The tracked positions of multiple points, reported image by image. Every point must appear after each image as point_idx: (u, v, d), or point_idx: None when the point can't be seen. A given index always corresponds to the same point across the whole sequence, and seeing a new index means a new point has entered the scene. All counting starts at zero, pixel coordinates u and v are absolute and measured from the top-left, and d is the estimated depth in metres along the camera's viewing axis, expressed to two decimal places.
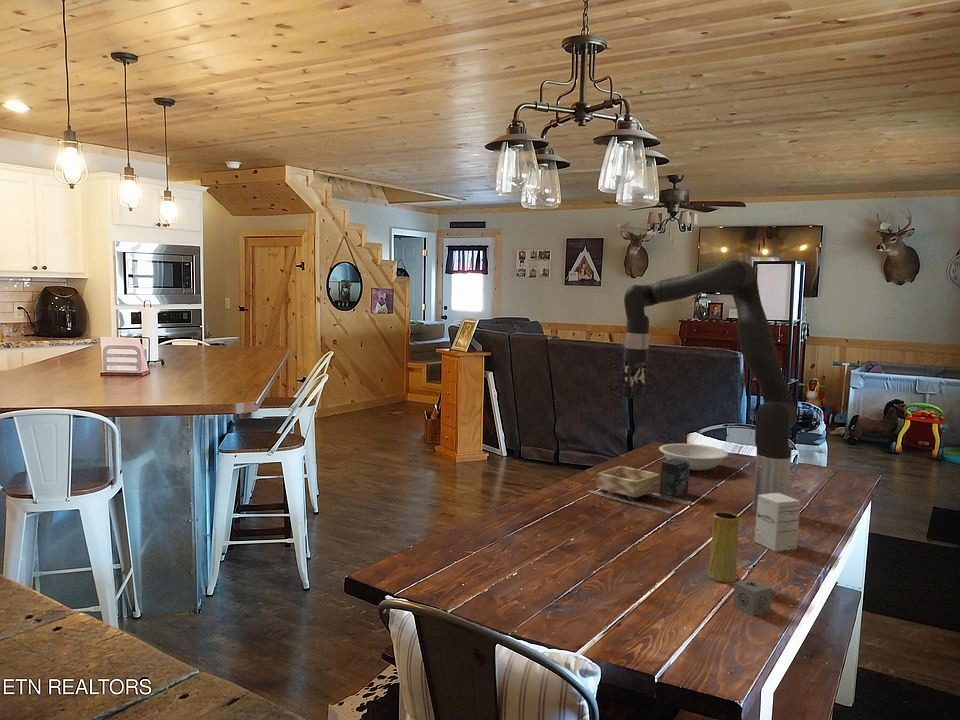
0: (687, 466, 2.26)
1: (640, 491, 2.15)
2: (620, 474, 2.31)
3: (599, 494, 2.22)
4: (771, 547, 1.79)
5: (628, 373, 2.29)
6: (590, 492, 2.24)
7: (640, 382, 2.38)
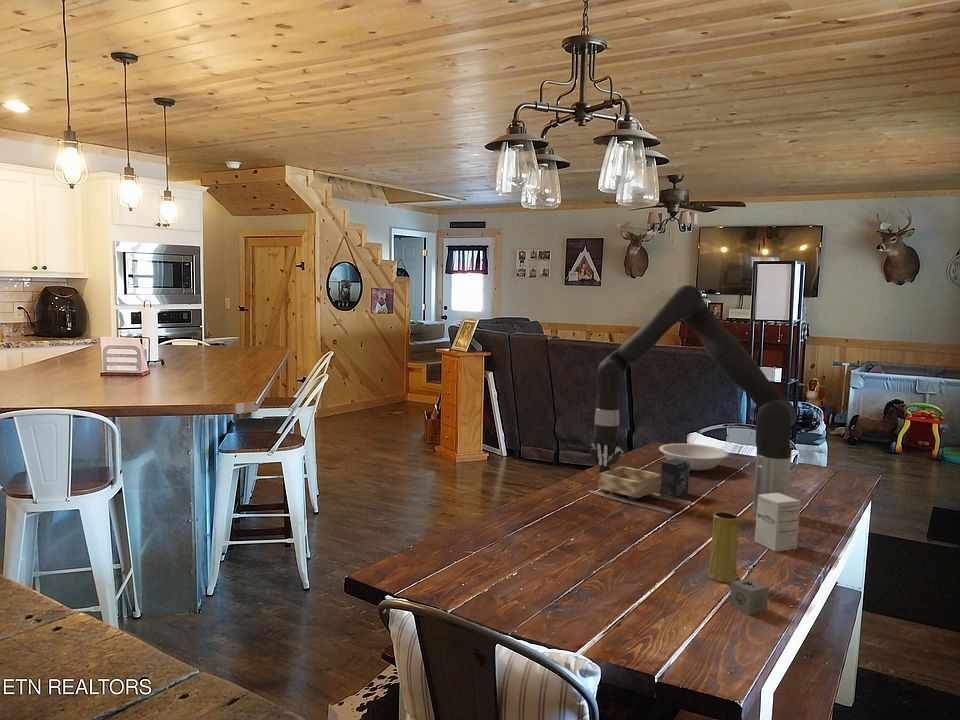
0: (687, 466, 2.26)
1: (642, 492, 2.15)
2: (622, 474, 2.31)
3: (599, 494, 2.22)
4: (771, 547, 1.79)
5: (620, 456, 2.25)
6: (590, 492, 2.24)
7: None
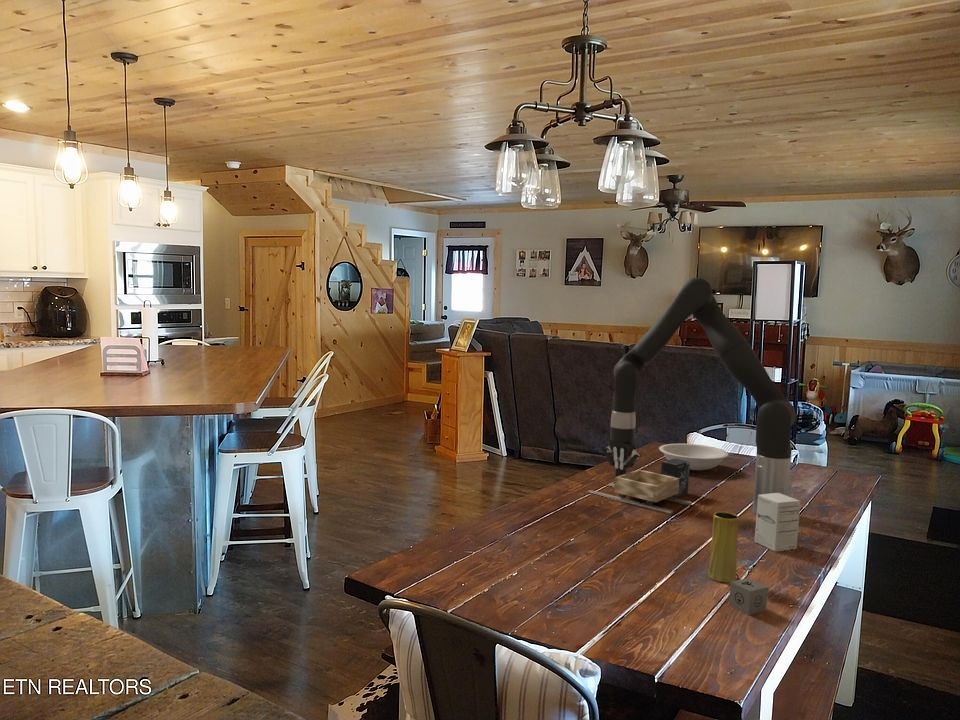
0: (687, 466, 2.26)
1: (660, 496, 2.11)
2: (638, 478, 2.27)
3: (599, 494, 2.22)
4: (771, 547, 1.79)
5: (637, 460, 2.21)
6: (590, 492, 2.24)
7: None
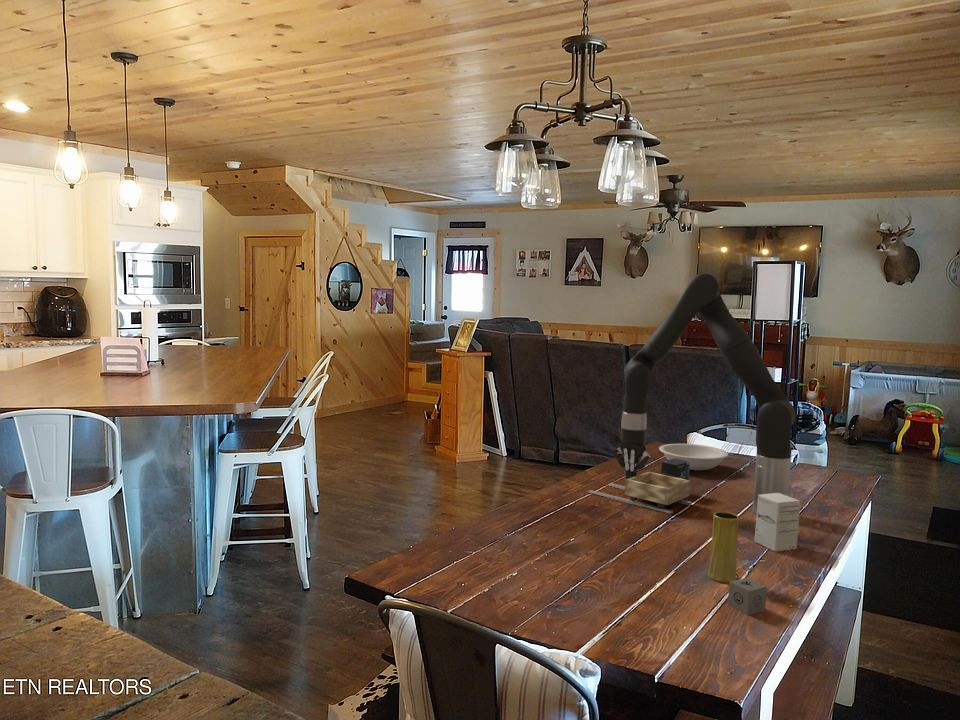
0: (687, 466, 2.26)
1: (672, 499, 2.08)
2: (648, 480, 2.24)
3: (599, 494, 2.22)
4: (771, 547, 1.79)
5: (647, 461, 2.19)
6: (590, 492, 2.24)
7: None
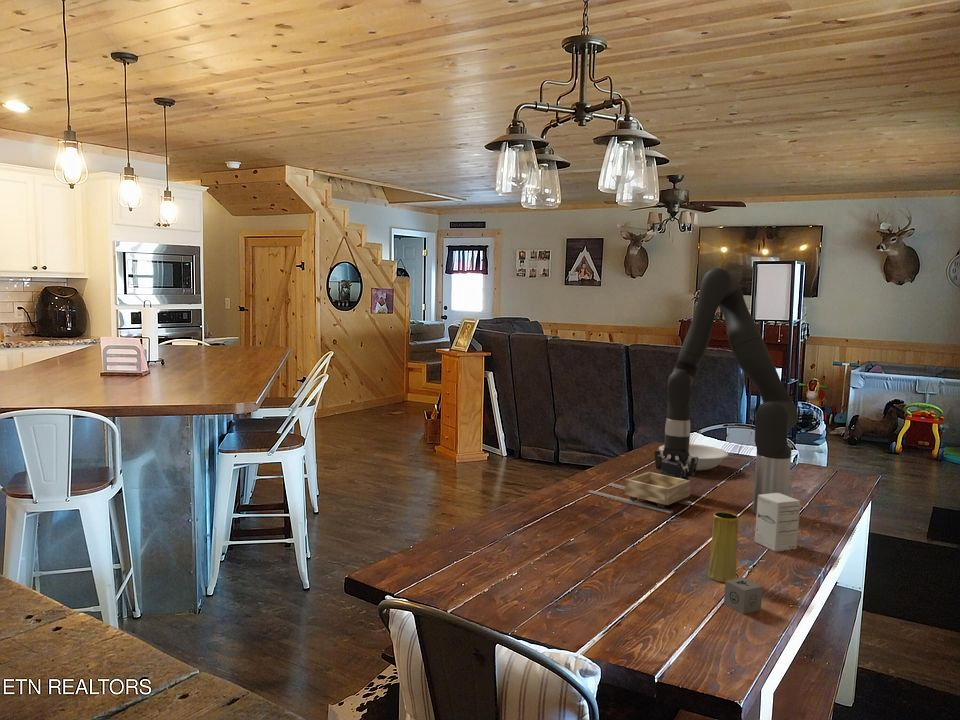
0: None
1: (672, 499, 2.08)
2: (648, 480, 2.24)
3: (599, 494, 2.22)
4: (771, 547, 1.79)
5: (696, 464, 2.22)
6: (590, 492, 2.24)
7: None
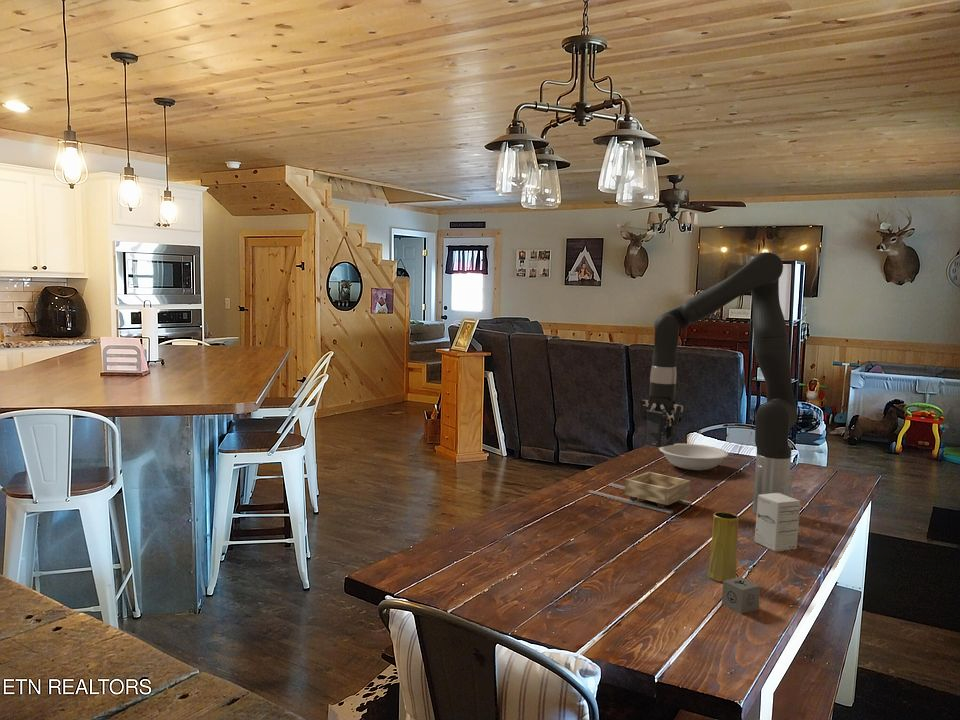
0: None
1: (672, 499, 2.08)
2: (648, 480, 2.24)
3: (599, 494, 2.22)
4: (771, 547, 1.79)
5: (682, 413, 2.13)
6: (590, 492, 2.24)
7: None
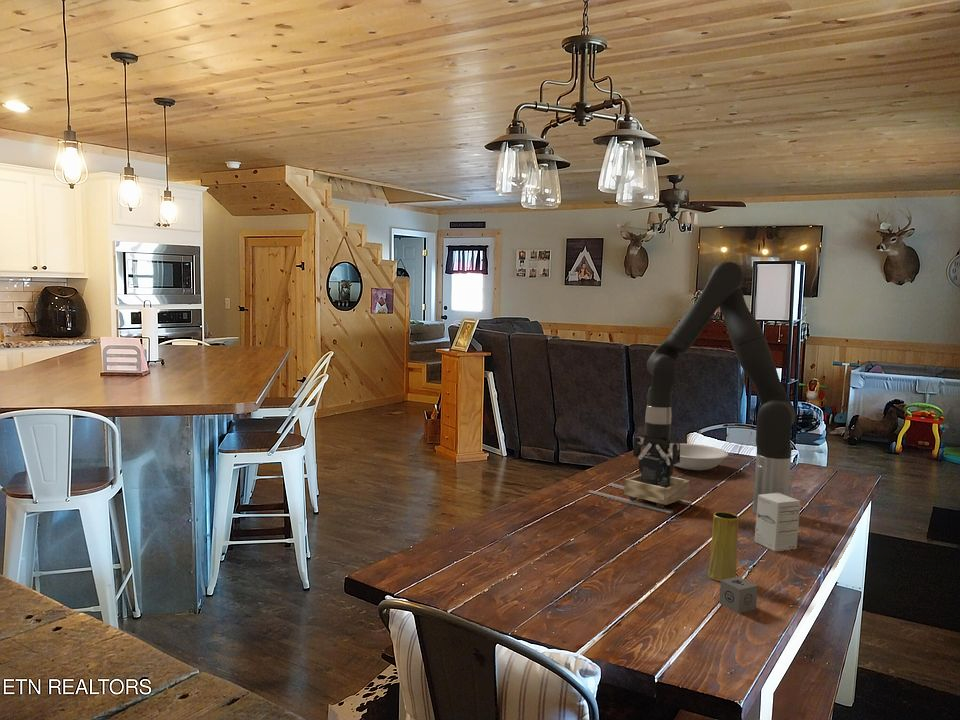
0: None
1: (671, 499, 2.09)
2: None
3: (599, 494, 2.22)
4: (771, 547, 1.79)
5: (679, 450, 2.12)
6: (590, 492, 2.24)
7: None
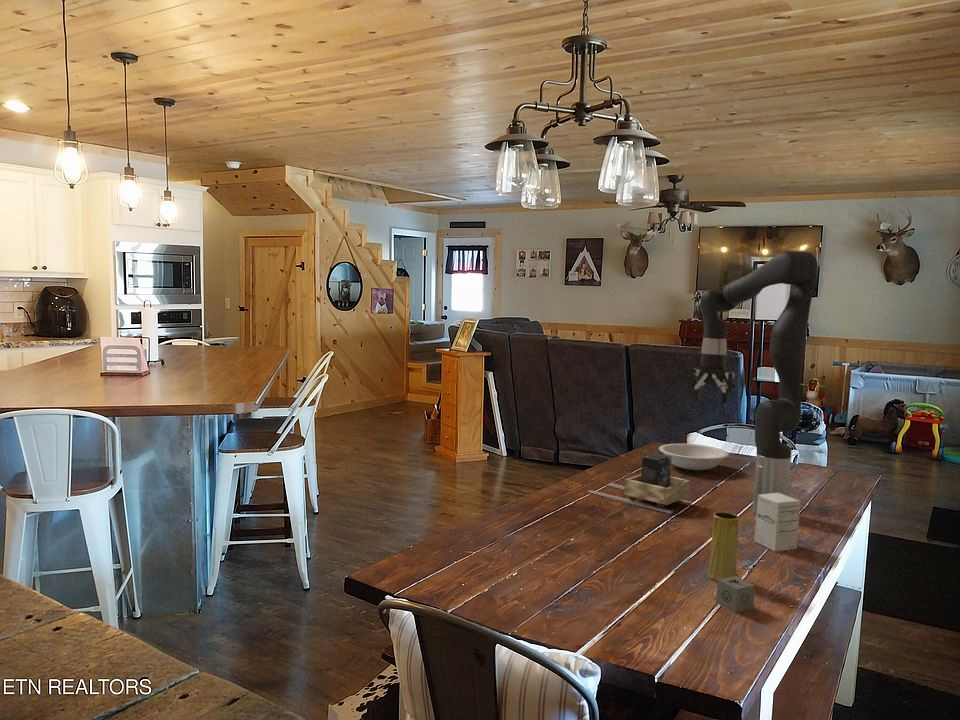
0: (668, 462, 2.16)
1: (671, 499, 2.09)
2: None
3: (599, 494, 2.22)
4: (771, 547, 1.79)
5: (734, 379, 2.27)
6: (590, 492, 2.24)
7: (699, 387, 2.35)
